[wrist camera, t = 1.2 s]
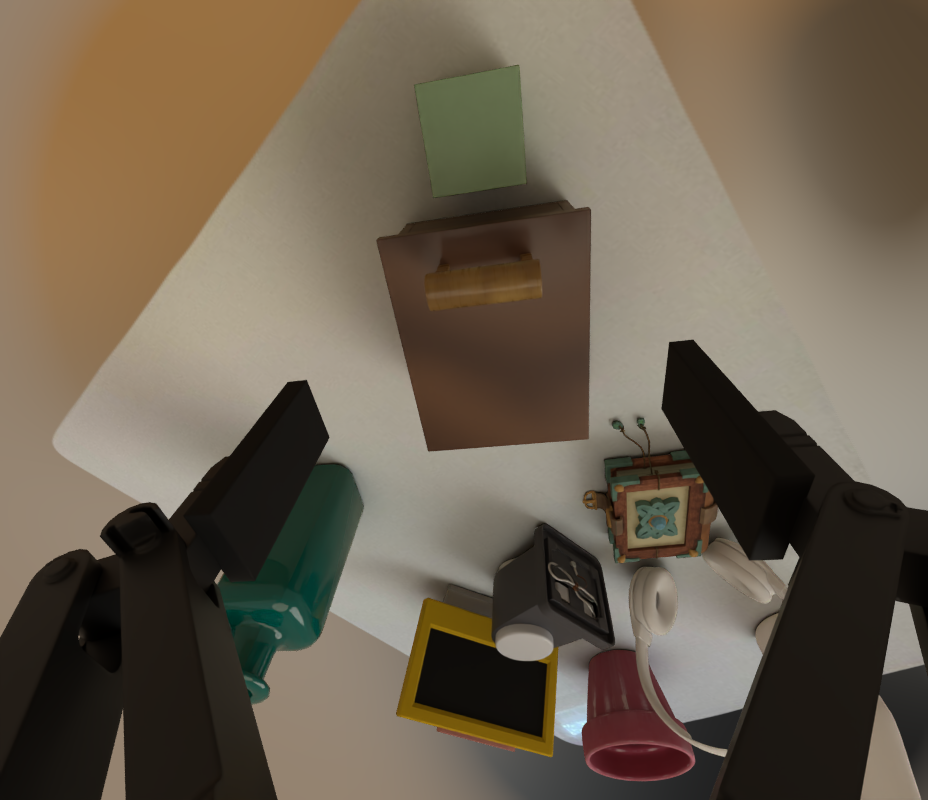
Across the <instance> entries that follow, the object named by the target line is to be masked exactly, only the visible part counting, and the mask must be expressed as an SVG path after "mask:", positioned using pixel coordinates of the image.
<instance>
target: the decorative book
mask: <svg viewBox="0 0 928 800" xmlns="http://www.w3.org/2000/svg"><path fill="white" fill-rule="evenodd" d="M637 423H638V425H637V426H638V427H639V428H640V429H642V430H644V432H645V434H646V436H647V439H648V457H645V454H644V451H643V449H642V447H641V446H640V445H639V444H638V443H636V442H635V441H634V440H632V439H630V438H629V437H628V436H626V435H625V433H624V432H625V430H624V426H623V425H622V423H621V422H619V421H615V422H614V423H613V424H612V426H613V428H614V429H618V430H619V429H621V431H620V432H623V434H624V436H625V437H627V438H628V439H629V440H631V441H633V442H634V443H635V444H637V445H638V446H639V447H640V448H641V450H642V452H643V458H637V459H631V458H630V457H626V458H618V459H609V460H604V463H605V478H606V481H607V483H608V492H607V493H606V496H605V495H604V494H602V493H596V492H594V491H589V492H587V493H586V494H585V495H584V500H583V503H584V504H585V506H586V507H587V508H588V509H595V510H597V508H600V509H603V510H604V511H605V512H606V518H607V526H608V535H609V541H610V544H613V551H614V559H615V563H625V562H637V561H640V559H646V558H656V559H658V557H670V556H676V557H677V558H685V557H697V556H701V553H703V552H705V551H706V550H707V548H708V540H709V532H710V524H711V523H712V522H713V521H714V520H715V519H716V517H717V510H718V506H717V504H716V502H715V501H714V499H713V497H712V495H711V494H710V492H709V490H708V488H707V487H706V485H705V483H704V482H703V480H702V478H701V476H700V475H699V473H698V471H697V469H696V468H695V466H694V464H693V462H692V461H691V459H690V457H689V456H688V454H687V452H686V450H684V451H675V452H670V455H662V456H653V457H650V440H649V437H648V434H647V432H646V430H645V429H646V427H643V425H644V423H645V420H644V418H639V419H637ZM622 428H623V429H622ZM590 493H592V500H586V497H587V495H588V494H590ZM588 503H593V507H589V506H588V505H587V504H588Z"/></svg>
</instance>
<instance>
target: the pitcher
mask: <svg viewBox="0 0 928 800" xmlns="http://www.w3.org/2000/svg"><path fill="white" fill-rule="evenodd" d="M363 507H364V506H363V503H362V500H361V497H360V494H359V492H358V489H357V486H356V483H355V481H354V478H353V475H352V473H351V472H350V471H349V470H348V469H346V468H344V467H343V466H340V465H336V464H327V465H315V466H314V468H313V470H312V472H311V474H310V476H309V478H308V480H307V482H306V484H305V486H304V487H303V489H302V491H301V493H300V495H299V497H298V499H297V501H296V503H295V505H294V507H293V509H292V511H291V513H290V515H289V516H288V518H287V520H286V522H285V524H284V526H283V528H282V530H281V532H280V534H279V536H278V538H277V540H276V542H275V543H274V545H273V547H272V549H271V551H270V553H269V555H268V557H267V559H266V561H265V563H264V565H263V567H262V569H261V571H260V572H259V574H258V576H257V578H256V580H255V581H243V582H230V581H229V579H228V578H227V577H226V575H225V574H224V573H223V575H222V577H221V578H220V580H219V582H218V583H217V586H218V587H219V588H220V592H221V596H222V599H223V603H224V607H225V610H226V614H227V618H228V621H229V625H230V628H231V632H232V636H233V639H234V643H235V647H236V650H237V654H238V658H239V661H240V665H241V669H242V672H243V676H244V679H245V683H246V687H247V690H248V694H249V698H250V701H251V705H253V704H257V703H261V702H263V701H264V700H265V699H267V698H268V697H269V694H270V687H269V686H268V684H267V683H266V682H265V681H264V677H265V675H266V673H267V670H268V668H269V665H270V663H271V660H272V658H273V656H274V654H275V653H276V651H298V650H302V649H305V648H309V647H310V646H311V645H312V644H313V643H315V642H316V641H317V639H318V638H319V637H320V635H321V633H322V631H323V628H324V625H325V621H326V619H327V616H328V613H329V610H330V607H331V604H332V601H333V598H334V595H335V592H336V589H337V586H338V583H339V580H340V577H341V574H342V571H343V568H344V565H345V562H346V559H347V556H348V553H349V551H350V548H351V545H352V542H353V539H354V536H355V533H356V530H357V527H358V524H359V521H360V518H361V515H362V512H363Z"/></svg>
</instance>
